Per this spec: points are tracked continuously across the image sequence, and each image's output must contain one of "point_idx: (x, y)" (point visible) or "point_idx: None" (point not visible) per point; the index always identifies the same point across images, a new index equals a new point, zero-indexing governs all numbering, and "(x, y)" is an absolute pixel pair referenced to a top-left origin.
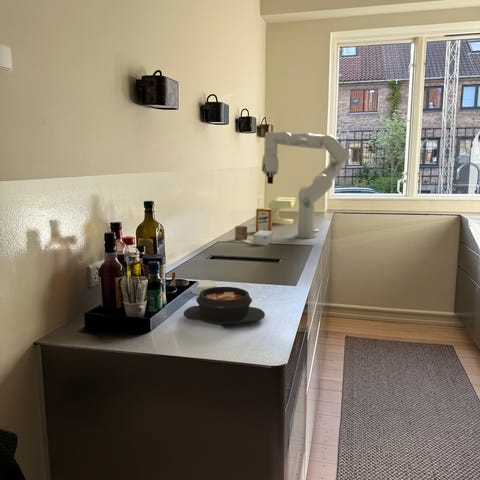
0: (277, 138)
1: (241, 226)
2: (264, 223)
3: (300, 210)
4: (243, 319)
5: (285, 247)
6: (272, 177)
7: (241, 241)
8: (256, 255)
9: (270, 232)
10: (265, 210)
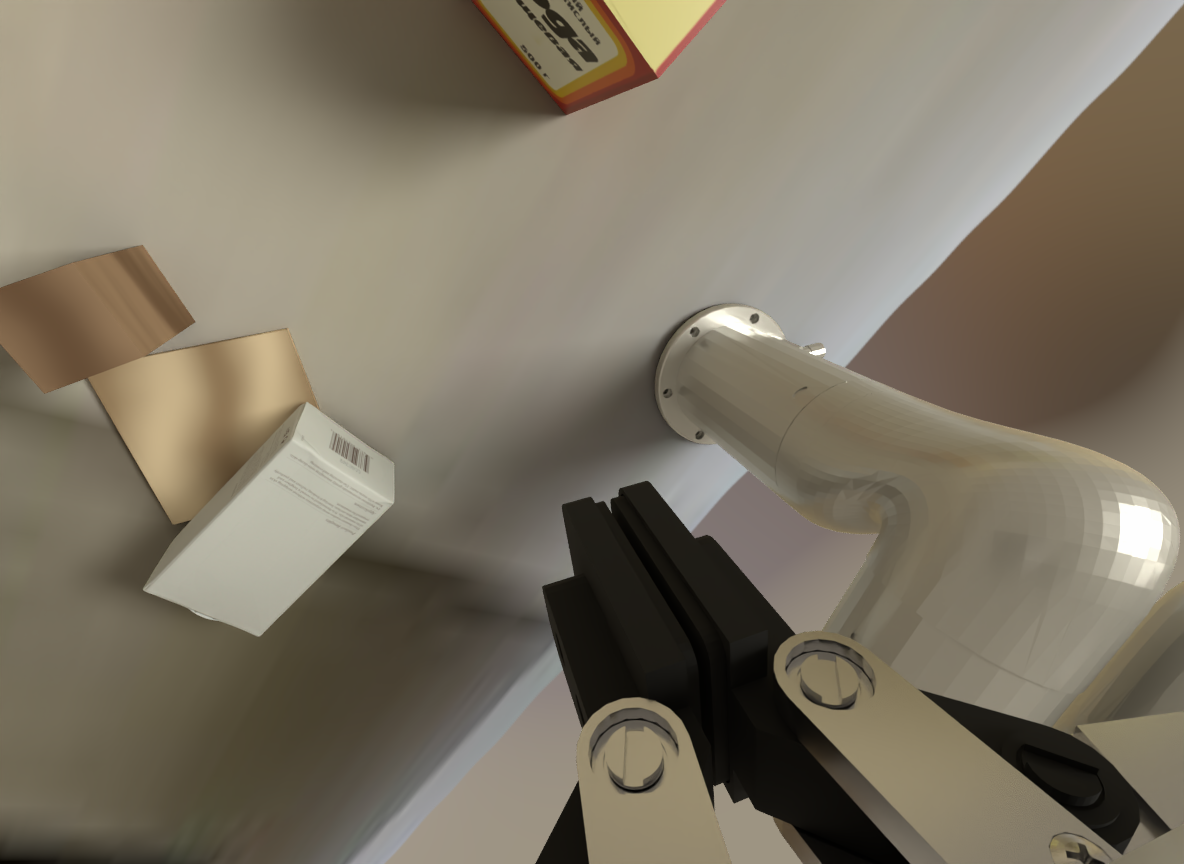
0: None
1: (62, 328)
2: (545, 42)
3: (786, 469)
4: None
5: (379, 649)
6: (728, 786)
7: (101, 395)
8: (86, 806)
9: (347, 540)
10: (600, 7)
